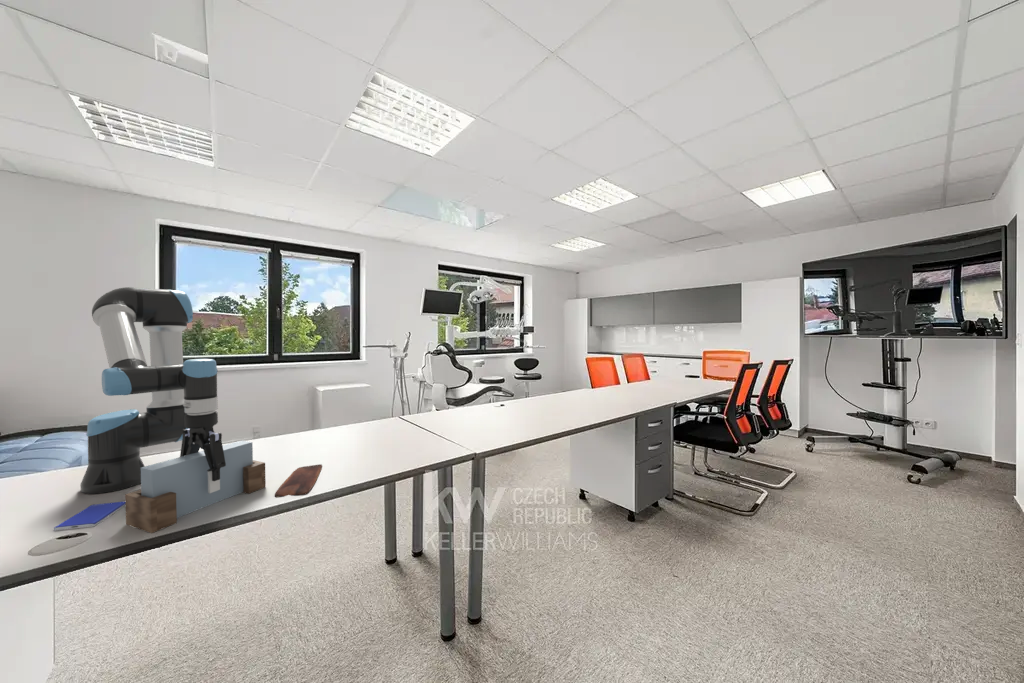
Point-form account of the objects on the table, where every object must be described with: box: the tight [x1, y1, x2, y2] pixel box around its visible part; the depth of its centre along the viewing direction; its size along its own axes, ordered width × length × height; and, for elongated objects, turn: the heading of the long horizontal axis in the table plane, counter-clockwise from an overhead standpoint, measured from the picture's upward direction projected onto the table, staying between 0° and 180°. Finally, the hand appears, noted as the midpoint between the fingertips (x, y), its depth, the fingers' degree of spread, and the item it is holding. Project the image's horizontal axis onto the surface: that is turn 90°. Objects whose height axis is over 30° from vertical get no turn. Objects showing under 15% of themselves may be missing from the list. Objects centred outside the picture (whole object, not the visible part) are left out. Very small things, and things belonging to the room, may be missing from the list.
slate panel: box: [140, 439, 254, 518], centre depth 111 cm, size 5×26×15 cm, turn 159°
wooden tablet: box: [274, 463, 323, 498], centre depth 130 cm, size 26×2×10 cm
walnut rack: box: [124, 459, 266, 534], centre depth 112 cm, size 11×30×8 cm, turn 159°
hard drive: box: [53, 501, 126, 532], centre depth 104 cm, size 2×8×12 cm
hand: (202, 488), depth 111 cm, fingers open, 9 cm apart
